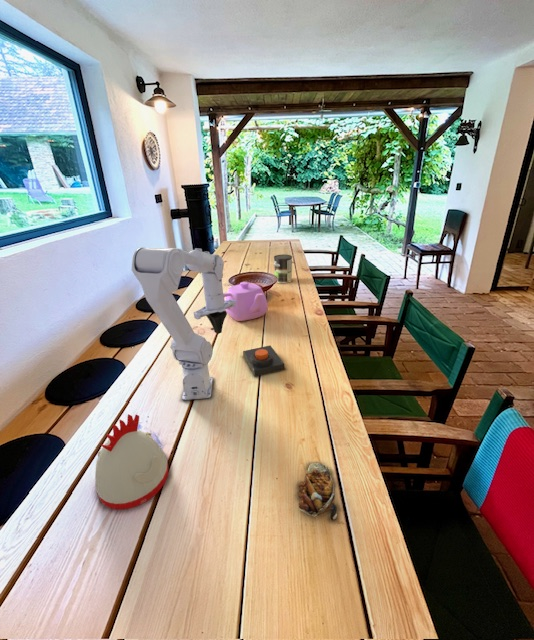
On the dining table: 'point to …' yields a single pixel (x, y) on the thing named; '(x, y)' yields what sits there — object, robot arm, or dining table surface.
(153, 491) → the kitchen timer
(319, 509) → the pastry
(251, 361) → the switch
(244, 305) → the teapot
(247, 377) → the dining table surface
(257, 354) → the button
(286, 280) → the coffee can
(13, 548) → the dining table surface
